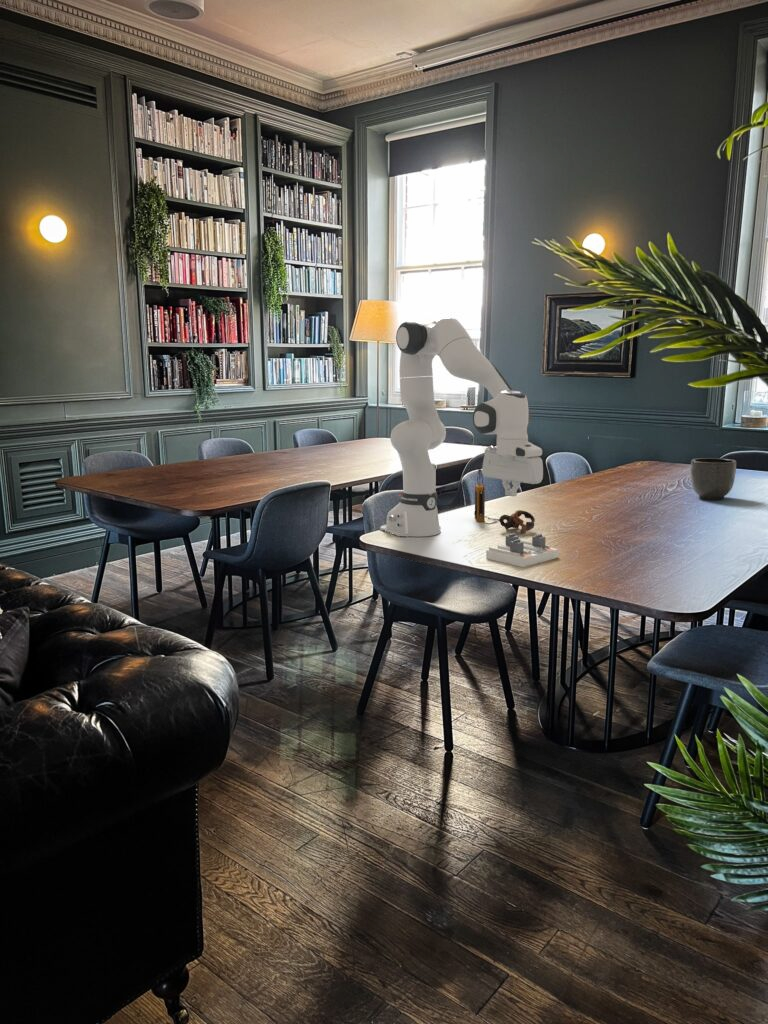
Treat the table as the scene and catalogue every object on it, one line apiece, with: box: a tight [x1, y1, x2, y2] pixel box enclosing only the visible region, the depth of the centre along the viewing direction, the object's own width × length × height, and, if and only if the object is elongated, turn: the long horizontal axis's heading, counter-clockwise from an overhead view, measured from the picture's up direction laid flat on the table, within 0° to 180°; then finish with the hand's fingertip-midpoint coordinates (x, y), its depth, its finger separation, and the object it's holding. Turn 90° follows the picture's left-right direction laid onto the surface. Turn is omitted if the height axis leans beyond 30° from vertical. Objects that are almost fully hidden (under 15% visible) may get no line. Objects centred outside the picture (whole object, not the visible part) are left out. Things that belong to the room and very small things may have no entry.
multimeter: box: [473, 465, 500, 525], centre depth 281 cm, size 15×10×20 cm
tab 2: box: [531, 533, 546, 548], centre depth 228 cm, size 3×2×4 cm
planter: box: [690, 457, 737, 501], centre depth 318 cm, size 17×17×16 cm
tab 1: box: [510, 538, 524, 554], centre depth 222 cm, size 3×2×4 cm
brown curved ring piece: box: [498, 509, 536, 534], centre depth 263 cm, size 12×10×8 cm
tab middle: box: [505, 532, 520, 546], centre depth 229 cm, size 3×2×4 cm
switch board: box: [485, 539, 559, 568], centre depth 227 cm, size 14×16×3 cm
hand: (510, 495), depth 222 cm, fingers closed
